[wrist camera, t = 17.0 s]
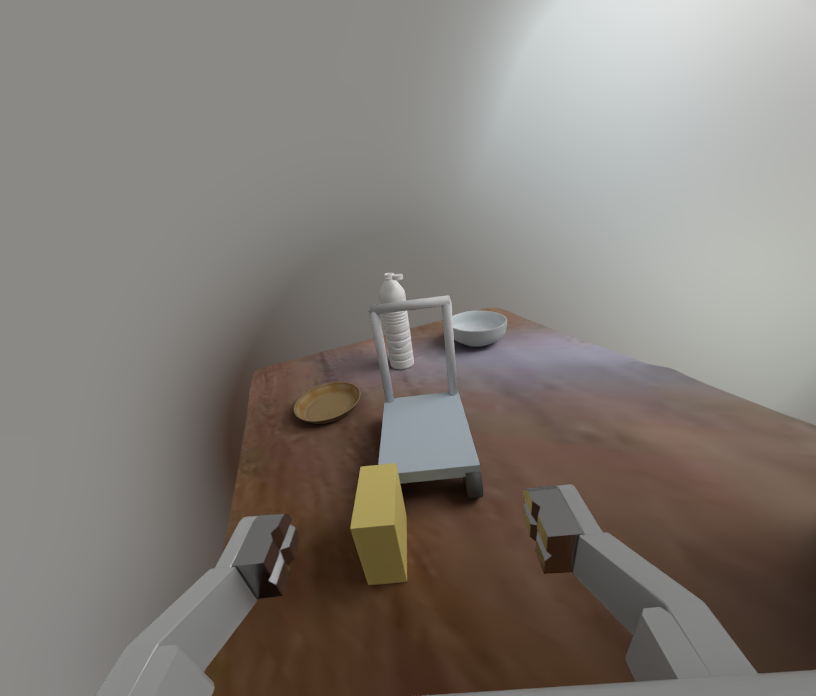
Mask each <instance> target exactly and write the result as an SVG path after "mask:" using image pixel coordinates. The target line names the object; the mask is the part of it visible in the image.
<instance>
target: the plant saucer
mask: <svg viewBox="0 0 816 696" xmlns="http://www.w3.org/2000/svg"><path fill="white" fill-rule="evenodd" d="M360 395H361V392H360V389H359V388H358V387H357V386H356V385H354V384H352V383H348V382H333V383H328V384H324V385H321V386H318V387H316V388H314V389H311V390H310V391H308V392H306V393H305V394H304V395H302V396H301V397H300V398H299V399H298V400H297V402H296V403H295V405H294V413H295V415H296V416H297V417H298V418H299V419H301V420H303V421H306V422H309V423H314V424H326V423H331V422H334V421H337V420H339V419H341V418H343V417H344V416H346V415H347V414H348V413H349V412H350V411H351V410H352V409H353V408H354V407H355V405H356V404H357V402H358V401H359V399H360Z"/></svg>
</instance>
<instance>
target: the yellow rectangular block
mask: <svg viewBox="0 0 816 696" xmlns="http://www.w3.org/2000/svg"><path fill="white" fill-rule="evenodd" d="M350 530H351V533H352V536H353V539H354V543H355V546H356V549H357V552H358V555H359V558H360V561H361V564H362V568H363V571H364V574H365V577H366V580H367V583H368V585H376V584H387V583H399V582H407V516H406V511H405V506H404V500H403V495H402V490H401V485H400V479H399V474H398V469H397V464H396V463H392V464H382V465H372V466H363V467H361V468H360V474H359V480H358V486H357V491H356V497H355V503H354V509H353V515H352V521H351V527H350Z"/></svg>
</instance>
